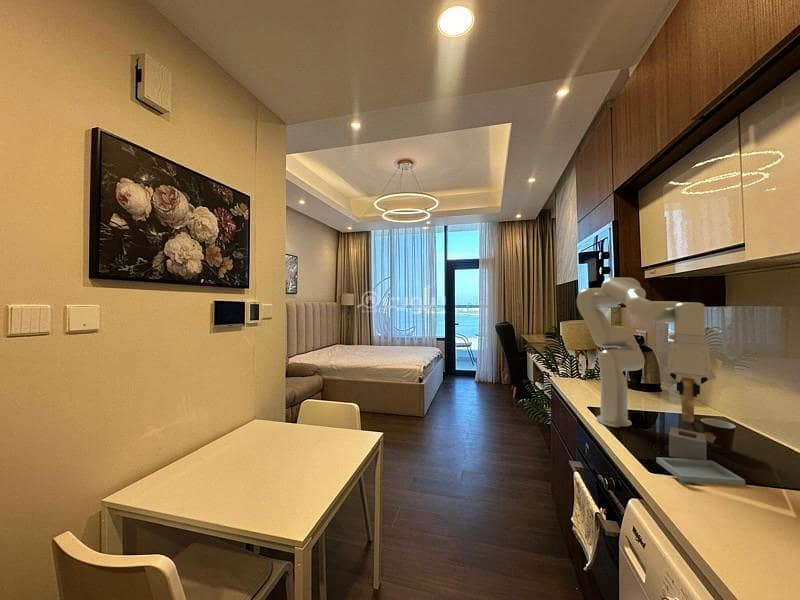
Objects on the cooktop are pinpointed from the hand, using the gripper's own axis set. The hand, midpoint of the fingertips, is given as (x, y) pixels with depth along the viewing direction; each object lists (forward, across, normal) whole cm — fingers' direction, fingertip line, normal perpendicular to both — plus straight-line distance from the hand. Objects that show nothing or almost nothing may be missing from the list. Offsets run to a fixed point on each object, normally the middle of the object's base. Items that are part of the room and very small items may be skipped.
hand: (688, 394), depth 107 cm
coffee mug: (+22, +7, +14) cm, 27 cm away
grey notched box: (+21, 0, 0) cm, 21 cm away
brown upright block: (+9, +1, 0) cm, 9 cm away
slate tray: (+21, +3, -12) cm, 25 cm away
